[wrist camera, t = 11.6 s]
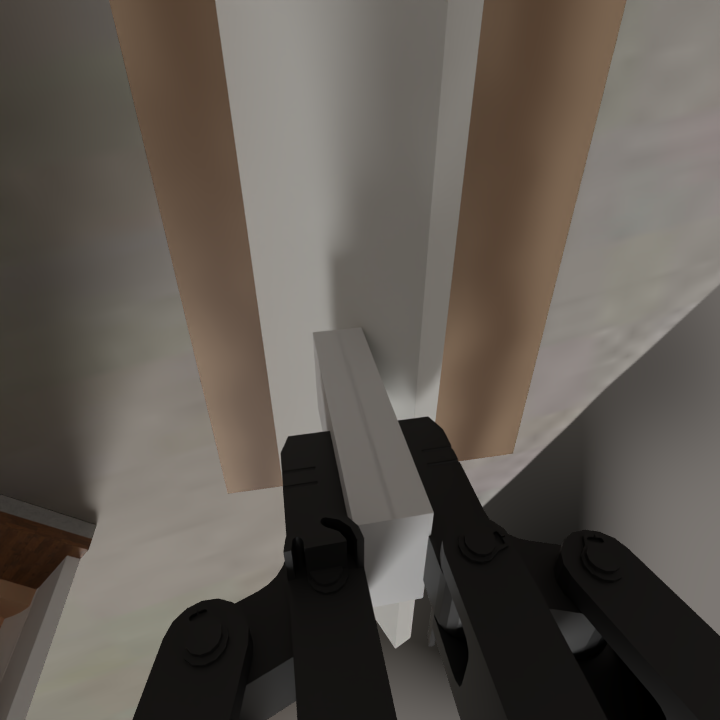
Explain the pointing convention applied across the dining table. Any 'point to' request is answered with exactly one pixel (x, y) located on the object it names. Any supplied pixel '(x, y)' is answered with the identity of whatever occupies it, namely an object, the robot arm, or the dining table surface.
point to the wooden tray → (475, 226)
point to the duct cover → (352, 188)
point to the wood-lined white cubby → (32, 593)
